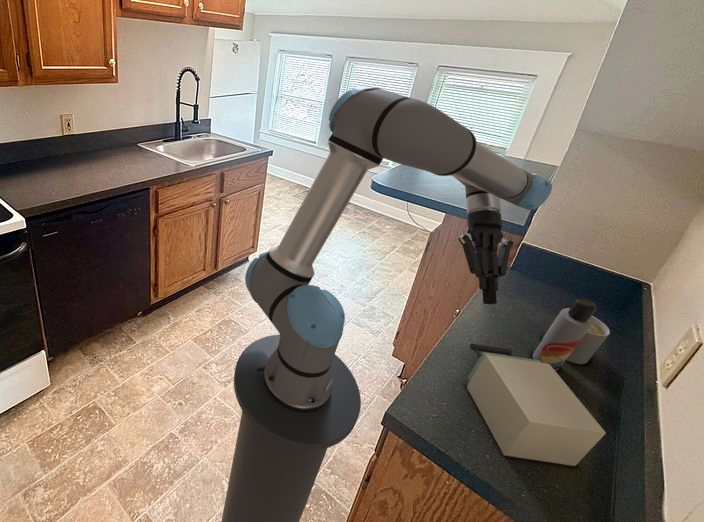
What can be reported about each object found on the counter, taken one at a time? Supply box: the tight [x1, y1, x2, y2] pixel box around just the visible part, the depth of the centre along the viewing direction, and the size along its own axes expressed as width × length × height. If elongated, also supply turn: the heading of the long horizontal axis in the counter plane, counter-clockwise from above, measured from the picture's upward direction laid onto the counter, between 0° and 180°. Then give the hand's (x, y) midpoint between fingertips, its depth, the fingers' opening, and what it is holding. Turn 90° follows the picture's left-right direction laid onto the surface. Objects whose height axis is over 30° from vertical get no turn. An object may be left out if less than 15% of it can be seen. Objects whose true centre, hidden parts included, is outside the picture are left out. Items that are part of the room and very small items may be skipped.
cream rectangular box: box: [466, 355, 607, 467], centre depth 78 cm, size 16×14×11 cm
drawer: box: [467, 342, 541, 383], centre depth 83 cm, size 21×12×9 cm, turn 175°
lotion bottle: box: [532, 298, 598, 372], centre depth 92 cm, size 6×6×20 cm
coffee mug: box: [542, 307, 611, 365], centre depth 101 cm, size 13×10×10 cm
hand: (489, 303), depth 94 cm, fingers closed
